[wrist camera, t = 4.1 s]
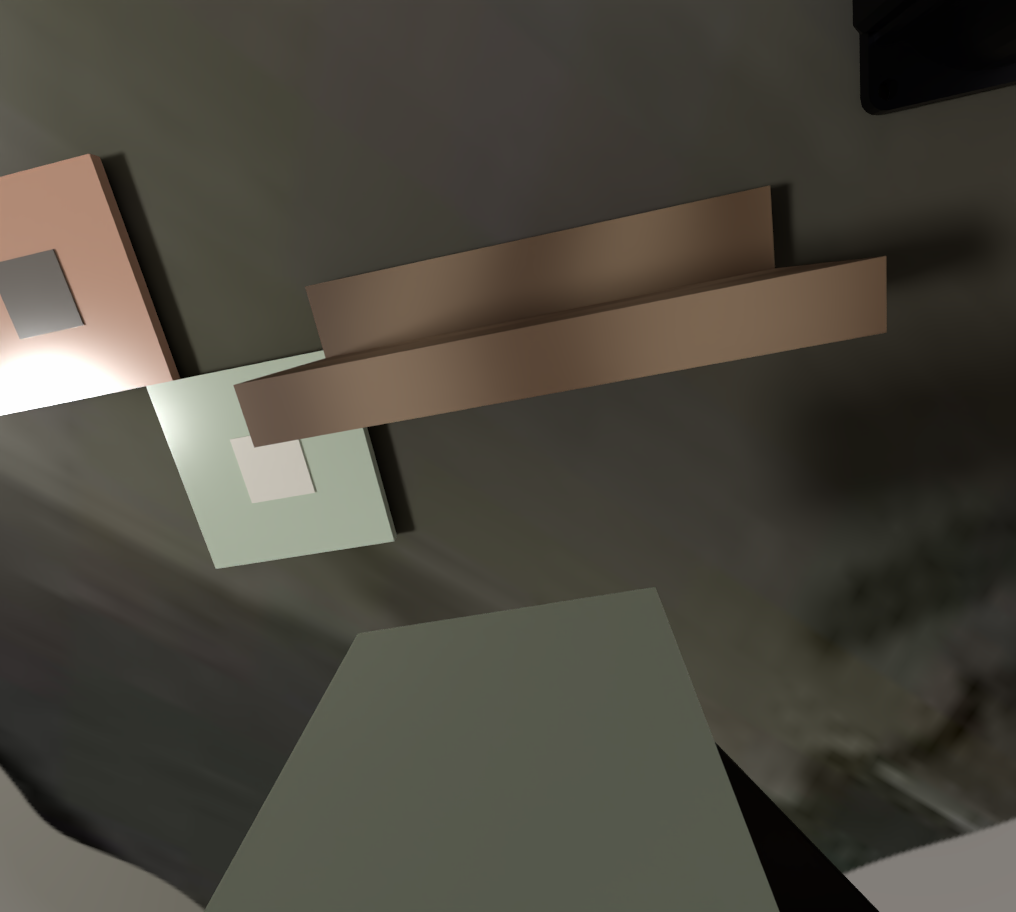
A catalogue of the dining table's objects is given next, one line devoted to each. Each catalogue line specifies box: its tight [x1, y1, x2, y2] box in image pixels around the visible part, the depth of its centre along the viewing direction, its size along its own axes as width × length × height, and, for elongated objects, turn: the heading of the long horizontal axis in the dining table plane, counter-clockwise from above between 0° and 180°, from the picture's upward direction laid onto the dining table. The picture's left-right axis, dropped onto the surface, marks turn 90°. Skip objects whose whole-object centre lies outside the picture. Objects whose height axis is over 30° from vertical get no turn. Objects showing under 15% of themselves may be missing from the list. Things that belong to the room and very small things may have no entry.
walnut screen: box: [233, 186, 887, 448], centre depth 14 cm, size 14×4×6 cm, turn 101°
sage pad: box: [146, 350, 397, 569], centre depth 19 cm, size 7×7×1 cm
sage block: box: [204, 587, 779, 912], centre depth 7 cm, size 5×5×5 cm
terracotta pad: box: [0, 154, 180, 415], centre depth 18 cm, size 7×7×1 cm
